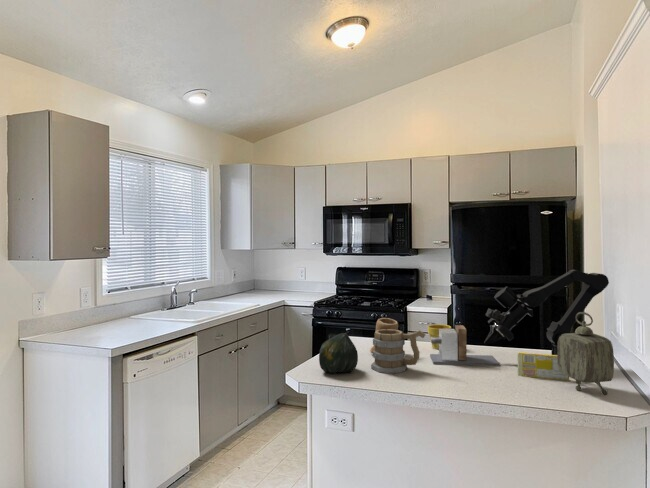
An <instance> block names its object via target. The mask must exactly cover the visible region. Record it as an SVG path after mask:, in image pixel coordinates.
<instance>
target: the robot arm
mask: <svg viewBox="0 0 650 488" xmlns="http://www.w3.org/2000/svg"><path fill="white" fill-rule="evenodd" d="M575 282H581V283H582V286H581V290H580V292H579V294H578V295H577V296H576V298H575V299H574V300H573V302H572V304H571V305H570V306H569V307H568V309H567V311H566V312H565V313H564V315H563V316H562V317H561V319H560V320H558V321H557V322H555V321H553V320H552V322H551V323H550V325H549V327H547V328H546V330H547V331H546V334H545V335H546V338H547V340H548V341H549V342H551V346H552V349H551V353H550V354H551V355H557V346H558V339H559V337H560V336H561V335H562V334H568V333H572V329H573V327H574V324H575V323H576V322H577V321H576V318H575V317H576V314H577V313H579V312H584V310H586V308H587V307H588V305H589V304H590V302H591V301H592V300H593V299H594V297H596V296H597V295H599V294H600V293H602V292H603V291H604V290H605V289H606V288H607V287H608V286H609V284H610V282H609V278H608V276H607V275H605V274H604V273H597V272H590V273H588V272H582V271H580V270H576V269H569V270H568V271H567V272H565V273H564V274H562V275H560V276H558V277H557V278H555V279H553V280H552V281H549V282H547V283H546V284H544V285H542V286H539V287H536V288H532V289H529V290H526V291H524V292H523V293H522V294H520V293H519V294H516V293H514V291H512V290H511V289H512V288H510V287H509V286H505V287H504V288H501V289H500V290H499V291H497V292H496V293H495V295H494V297H493V299H495V300H496V301H497V302H498V303H499V304H500V305H501V306H502V307H503V308H505V309H507V308H508V310H507V311H506V312H504V311H503V312H502V313H501V311H500V310H498V309H491V308H489V307H488V309H487V311H486V313H485V316H486V317H488V318H489V319H488V320H487V323H488V324H489V327H490V330H489V332H488V335H487V336H486V338H485V340H484V342H483V343H484V344H485V345H486V346H487V345H490V344H493V343H496V342H498V341H502V340H505V339H507V340H508V341H509V342H511V341H512V340H513V339H514V338H515V335H514V333H513V332H512V329H513V328H514V327H515V326H516V327H517V326H519V322H520V321H521V320H523V319H524V317H526V315H528V316H529V317H534V309H532V308H536V307H538V306H540V305H542V304H543V303H544V302H545V301H546V300H547V298H549V297H550V296H551V295H554V294H555V293H556V292H558V291H560V290H562V289H565V287H567V286H570V285H571V284H573V283H575ZM520 302H521V303H522V304H521V303H520ZM527 306H529V307H530V308H529V307H527ZM531 307H532V308H531ZM581 316H582V314H579V315H578V316H577V320H578V319H579V318H580V317H581Z"/></svg>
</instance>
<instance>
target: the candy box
mask: <svg viewBox="0 0 650 488" xmlns="http://www.w3.org/2000/svg"><path fill="white" fill-rule="evenodd" d="M517 376H518V377H519V376H521V377H528V378H529V377H530V378H539V379H548V380H558V381H564V382H565V381H566V382H569V381H570V377H569V376H567V375H565V374H563V373H561V372H560V371H559V368H558V358H557V355H552V354H547V353H545V354H544V353H533V352H523V351H522V352H521V351H520V352H519V351H518V352H517Z"/></svg>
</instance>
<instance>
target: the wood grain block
mask: <svg viewBox="0 0 650 488" xmlns="http://www.w3.org/2000/svg"><path fill="white" fill-rule="evenodd" d="M454 327H455V328H454V330H455V331H456V332H457V343H458V360H467V355H468V353H467V328H466V327H465V326H464V325H461V324H459V325H458V324H455V325H454ZM430 342H431V345H432V344H441V338H433V337H431V339H430Z"/></svg>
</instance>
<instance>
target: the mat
mask: <svg viewBox="0 0 650 488" xmlns="http://www.w3.org/2000/svg"><path fill="white" fill-rule="evenodd" d="M429 355H430V356H429V357H430V360H431V361H432V364H433V365H447V366H449V365H450V366H451V365H453V366H454V365H455V366H484V367H486V366H488V367H500V365H501V364H500V362H499V361H498V360H497V359H496V357H495V356H493V355H491V354H490V355H482V354H467V360H458V361H442V360H441V358H440V356H439V353H430V354H429Z"/></svg>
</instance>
